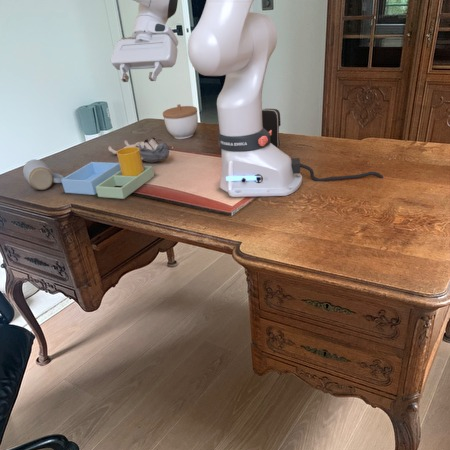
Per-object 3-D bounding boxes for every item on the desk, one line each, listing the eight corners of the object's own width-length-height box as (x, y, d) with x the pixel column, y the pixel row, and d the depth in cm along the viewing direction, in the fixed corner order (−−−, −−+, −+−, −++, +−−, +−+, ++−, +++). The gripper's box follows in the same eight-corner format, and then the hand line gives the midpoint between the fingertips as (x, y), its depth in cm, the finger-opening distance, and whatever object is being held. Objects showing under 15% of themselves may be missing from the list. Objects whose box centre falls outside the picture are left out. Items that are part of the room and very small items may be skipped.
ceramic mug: (33, 194, 131) (24, 169, 127) (28, 186, 137) (19, 162, 132) (68, 184, 135) (61, 160, 131) (61, 177, 141) (54, 154, 137)
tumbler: (149, 177, 133) (143, 147, 128) (138, 185, 128) (131, 154, 123) (131, 176, 135) (124, 146, 130) (119, 184, 131) (111, 154, 125)
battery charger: (282, 144, 145) (281, 107, 138) (277, 148, 142) (276, 111, 135) (263, 143, 148) (262, 107, 141) (258, 146, 145) (256, 110, 139)
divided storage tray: (154, 175, 133) (152, 166, 132) (124, 198, 121) (121, 188, 119) (130, 174, 136) (128, 165, 135) (98, 196, 124) (95, 186, 122)
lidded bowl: (205, 131, 167) (202, 100, 161) (190, 141, 158) (185, 109, 152) (177, 130, 172) (172, 100, 165) (160, 140, 163) (155, 109, 156)
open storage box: (123, 175, 136) (119, 162, 134) (94, 194, 126) (90, 181, 123) (94, 174, 140) (91, 161, 138) (65, 192, 130) (60, 179, 127)
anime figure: (127, 134, 157) (175, 134, 136) (133, 155, 161) (181, 158, 140) (103, 142, 153) (150, 143, 131) (110, 163, 156) (156, 167, 135)
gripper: (112, 30, 128) (101, 74, 127) (173, 25, 121) (163, 71, 119) (124, 45, 134) (114, 87, 133) (183, 41, 127) (173, 86, 125)
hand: (137, 80), depth 126 cm, fingers open, 8 cm apart
